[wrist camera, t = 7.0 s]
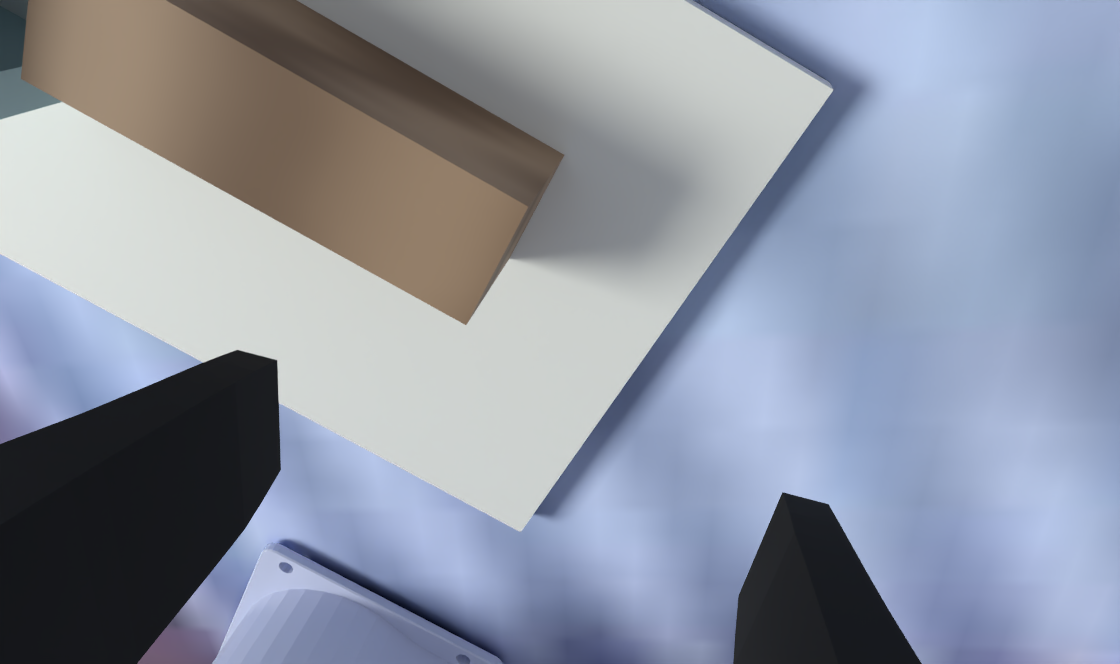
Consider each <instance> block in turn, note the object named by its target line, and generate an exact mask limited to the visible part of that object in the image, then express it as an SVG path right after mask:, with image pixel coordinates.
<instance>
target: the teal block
mask: <svg viewBox="0 0 1120 664" xmlns="http://www.w3.org/2000/svg"><path fill="white" fill-rule="evenodd" d="M25 29H26V20H25V19H23V18H21V17H19V16H18V15H16V14H14V13H12V12H10V11H9V10H7V9H5V8H3V7H2V6H0V120H1V119H4V118H8V117H11V116H15V115H18V114H22V113H25V112H29V111H32V110H36V109H39V108H43V107H46V106H50V105H53V104H57V103H60V102H62V101H60V100H58V99H56V98H54V97H53V96H51V95H49V94H47V93H45V92H44V91H42V90H40V89H38V88H36V87H35V86H33V85H31V84H29V83H27V82H26V81H24V80H22V79H21V71H22V60H23V50H24V39H25Z"/></svg>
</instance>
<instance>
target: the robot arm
mask: <svg viewBox="0 0 1120 664" xmlns="http://www.w3.org/2000/svg"><path fill="white" fill-rule="evenodd" d="M280 470H281V464H280V431H279V399H278V366H277V360H275V359H271V358H267V357H263V356H259V355H256V354H252V353H248V352H244V351H240V350H236V351H233V352H230V353H227V354H224V355H222V356H219V357H216V358H214V359H211V360H209V361H206V362H204V363H201V364H199V365H197V366H194V367H192V368H189V369H187V370H185V371H182V372H180V373H178V374H175V375H173V376H170V377H168V378H166V379H163V380H161V381H159V382H156V383H154V384H152V385H149V386H147V387H144V388H142V389H140V390H137V391H135V392H132V393H130V394H128V395H125V396H123V397H120V398H118V399H116V400H113V401H111V402H108V403H106V404H104V405H101V406H99V407H96V408H94V409H92V410H89V411H87V412H84V413H82V414H79V415H76V416H74V417H71V418H68V419H66V420H63V421H61V422H58V423H55V424H53V425H50V426H47V427H45V428H42V429H39V430H37V431H34V432H31V433H29V434H26V435H23V436H21V437H18V438H15V439H13V440H10V441H7V442H5V443H2V444H0V664H137V663H138V661H139V660H140V659H141V658H142V656H143V655H144V654H145V653H146V652H147V650H148V649H149V648H150V647H151V645H152V644H153V643H154V642H155V640H156V639H157V638H158V637H159V635H160V634H161V633H162V632H163V631H164V629H165V628H166V627H167V626H168V624H169V623H170V622H171V621H172V619H173V618H174V617H175V616H176V614H177V613H178V612H179V611H180V609H181V608H182V607H183V606H184V605H185V603H186V602H187V601H188V600H189V598H190V597H191V596H192V595H193V593H194V592H195V591H196V590H197V588H198V587H199V586H200V585H201V584H202V582H203V581H204V580H205V579H206V577H207V576H208V575H209V574H210V572H211V571H212V570H213V569H214V567H215V566H216V565H217V564H218V562H219V561H220V560H221V559H222V557H223V556H224V555H225V554H226V552H227V551H228V550H229V548H230V547H231V546H232V545H233V543H234V542H235V541H236V540H237V538H238V537H239V536H240V534H241V533H242V532H243V531H244V529H245V528H246V526H247V525H248V523H249V521H250V520H251V518H252V517H253V515H254V513H255V512H256V510H257V509H258V507H259V506H260V504H261V502H262V501H263V499H264V497H265V496H266V494H267V492H268V490H269V489H270V487H271V485H272V484H273V482H274V480H275V479H276V477H277V475H278V473H279V472H280ZM212 664H503V662H502V661H501V660H500V659H499V658H498V657H496V656H494V655H492V654H490V653H489V652H487V651H485V650H483V649H481V648H479V647H477V646H475V645H473V644H471V643H469V642H467V641H466V640H464V639H462V638H460V637H458V636H456V635H454V634H452V633H450V632H448V631H446V630H444V629H442V628H441V627H439V626H437V625H435V624H433V623H431V622H429V621H427V620H425V619H423V618H421V617H419V616H417V615H416V614H414V613H412V612H410V611H408V610H406V609H404V608H402V607H400V606H398V605H396V604H394V603H392V602H391V601H389V600H387V599H385V598H383V597H381V596H379V595H377V594H375V593H373V592H371V591H369V590H368V589H366V588H364V587H362V586H360V585H358V584H356V583H354V582H352V581H350V580H348V579H346V578H344V577H343V576H341V575H339V574H337V573H335V572H333V571H331V570H329V569H327V568H325V567H323V566H321V565H319V564H318V563H316V562H314V561H312V560H310V559H308V558H306V557H304V556H302V555H300V554H298V553H296V552H294V551H293V550H291V549H289V548H287V547H285V546H283V545H280V544H278V543H271V544H268V545H267V546H266V547H265V549H264V550H263V551H262V553H261V554H260V557H259V559H258V561H257V564H256V566H255V568H254V571H253V573H252V576H251V578H250V580H249V583H248V585H247V587H246V590H245V592H244V594H243V597H242V599H241V601H240V604H239V606H238V608H237V611H236V613H235V616H234V618H233V620H232V623H231V625H230V627H229V630H228V632H227V634H226V637H225V639H224V641H223V644H222V646H221V649H220V651H219V653H218V656H217V657H216V659H215V660H214V661H213V663H212ZM733 664H922V663H921V662H920V660H919V659H918V657H917V656H916V654H915V652H914V651H913V649H912V648H911V646H910V644H909V643H908V641H907V639H906V638H905V636H904V634H903V633H902V631H901V630H900V628H899V626H898V625H897V623H896V621H895V620H894V618H893V617H892V615H891V613H890V612H889V610H888V608H887V606H886V605H885V603H884V601H883V600H882V598H881V596H880V595H879V593H878V591H877V589H876V588H875V586H874V584H873V582H872V581H871V579H870V577H869V575H868V574H867V572H866V570H865V568H864V567H863V565H862V563H861V561H860V559H859V558H858V556H857V554H856V552H855V550H854V549H853V547H852V545H851V543H850V542H849V540H848V538H847V536H846V534H845V533H844V531H843V529H842V527H841V525H840V524H839V522H838V520H837V519H836V517H835V515H834V513H833V512H832V510H831V508H830V506H829V505H828V504H825V503H821V502H817V501H813V500H810V499H806V498H802V497H798V496H794V495H790V494H787V493H782V495H781V497H780V500H779V502H778V504H777V507H776V509H775V511H774V514H773V516H772V519H771V521H770V523H769V526H768V528H767V530H766V533H765V535H764V537H763V540H762V542H761V544H760V547H759V549H758V551H757V554H756V556H755V559H754V561H753V563H752V566H751V568H750V570H749V573H748V575H747V577H746V580H745V582H744V584H743V587H742V589H741V592H740V594H739V598H738V610H737V622H736V633H735V648H734V663H733Z"/></svg>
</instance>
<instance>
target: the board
mask: <svg viewBox="0 0 1120 664" xmlns="http://www.w3.org/2000/svg"><path fill="white" fill-rule="evenodd" d="M297 1H299V2H300V3H302V4H304V5H306V6H307V7H309V8H311V9H312V10H314V11H316V12H318V13H319V14H321V15H323V16H325V17H326V18H328V19H330V20H332V21H333V22H335V23H337V24H338V25H340V26H342V27H344V28H345V29H347V30H349V31H351V32H352V33H354V34H356V35H358V36H359V37H361V38H363V39H364V40H366V41H368V42H370V43H371V44H373V45H375V46H377V47H378V48H380V49H382V50H384V51H385V52H387V53H389V54H390V55H392V56H394V57H396V58H397V59H399V60H401V61H403V62H404V63H406V64H408V65H410V66H411V67H413V68H415V69H416V70H418V71H420V72H422V73H423V74H425V75H427V76H429V77H430V78H432V79H434V80H436V81H437V82H439V83H441V84H442V85H444V86H446V87H448V88H449V89H451V90H453V91H455V92H456V93H458V94H460V95H461V96H463V97H465V98H467V99H468V100H470V101H472V102H474V103H475V104H477V105H479V106H481V107H482V108H484V109H486V110H487V111H489V112H491V113H493V114H494V115H496V116H498V117H500V118H501V119H503V120H505V121H507V122H508V123H510V124H512V125H513V126H515V127H517V128H519V129H520V130H522V131H524V132H526V133H527V134H529V135H531V136H533V137H534V138H536V139H538V140H539V141H541V142H543V143H545V144H546V145H548V146H550V147H552V148H553V149H555V150H557V151H559V152H560V153H562V154H564V157H563V159H562V161H561V162H560V164H559V166H558V168H557V170H556V172H555V174H554V176H553V178H552V179H551V181H550V183H549V185H548V187H547V189H546V191H545V193H544V194H543V196H542V198H541V200H540V202H539V204H538V206H537V208H536V210H535V211H534V213H533V215H532V217H531V219H530V221H529V223H528V225H527V226H526V228H525V230H524V232H523V234H522V236H521V238H520V240H519V242H518V243H517V245H516V247H515V249H514V251H513V253H512V255H511V257H510V258H509V260H508V262H507V263H506V265H505V266H504V268H503V269H502V271H501V272H500V274H499V275H498V277H497V279H496V280H495V282H494V283H493V285H492V286H491V288H490V289H489V291H488V292H487V294H486V296H485V297H484V299H483V300H482V302H481V303H480V305H479V306H478V308H477V309H476V311H475V313H474V314H473V316H472V317H471V319H470V320H469V322H468V323H467V325H465V324H463V323H461V322H459V321H457V320H456V319H454V318H452V317H450V316H448V315H447V314H445V313H443V312H441V311H439V310H437V309H436V308H434V307H432V306H430V305H428V304H427V303H425V302H423V301H421V300H419V299H418V298H416V297H414V296H412V295H410V294H409V293H407V292H405V291H403V290H401V289H400V288H398V287H396V286H394V285H392V284H390V283H389V282H387V281H385V280H383V279H381V278H380V277H378V276H376V275H374V274H372V273H371V272H369V271H367V270H365V269H363V268H362V267H360V266H358V265H356V264H354V263H353V262H351V261H349V260H347V259H345V258H344V257H342V256H340V255H338V254H336V253H334V252H333V251H331V250H329V249H327V248H325V247H324V246H322V245H320V244H318V243H316V242H315V241H313V240H311V239H309V238H307V237H306V236H304V235H302V234H300V233H298V232H297V231H295V230H293V229H291V228H289V227H288V226H286V225H284V224H282V223H280V222H278V221H277V220H275V219H273V218H271V217H269V216H268V215H266V214H264V213H262V212H260V211H259V210H257V209H255V208H253V207H251V206H250V205H248V204H246V203H244V202H242V201H241V200H239V199H237V198H235V197H233V196H232V195H230V194H228V193H226V192H224V191H222V190H221V189H219V188H217V187H215V186H213V185H212V184H210V183H208V182H206V181H204V180H203V179H201V178H199V177H197V176H195V175H194V174H192V173H190V172H188V171H186V170H185V169H183V168H181V167H179V166H177V165H176V164H174V163H172V162H170V161H168V160H166V159H165V158H163V157H161V156H159V155H157V154H156V153H154V152H152V151H150V150H148V149H147V148H145V147H143V146H141V145H139V144H138V143H136V142H134V141H132V140H130V139H129V138H127V137H125V136H123V135H121V134H119V133H118V132H116V131H114V130H112V129H110V128H109V127H107V126H105V125H103V124H101V123H100V122H98V121H96V120H94V119H92V118H91V117H89V116H87V115H85V114H83V113H82V112H80V111H78V110H76V109H74V108H73V107H71V106H69V105H67V104H65V103H63V102H60V103H57V104H53V105H50V106H46V107H43V108H39V109H36V110H32V111H29V112H25V113H22V114H18V115H15V116H11V117H8V118H4V119H1V120H0V254H1V255H3V256H5V257H7V258H9V259H11V260H13V261H14V262H16V263H18V264H20V265H22V266H24V267H26V268H28V269H29V270H31V271H33V272H35V273H37V274H39V275H41V276H43V277H44V278H46V279H48V280H50V281H52V282H54V283H56V284H57V285H59V286H61V287H63V288H65V289H67V290H69V291H71V292H72V293H74V294H76V295H78V296H80V297H82V298H84V299H86V300H87V301H89V302H91V303H93V304H95V305H97V306H99V307H100V308H102V309H104V310H106V311H108V312H110V313H112V314H114V315H115V316H117V317H119V318H121V319H123V320H125V321H127V322H129V323H130V324H132V325H134V326H136V327H138V328H140V329H142V330H143V331H145V332H147V333H149V334H151V335H153V336H155V337H157V338H158V339H160V340H162V341H164V342H166V343H168V344H170V345H172V346H173V347H175V348H177V349H179V350H181V351H183V352H185V353H186V354H188V355H190V356H192V357H194V358H196V359H198V360H200V361H201V362H203V363H204V362H206V361H209V360H211V359H214V358H216V357H219V356H222V355H224V354H227V353H230V352H233V351H236V350H240V351H244V352H248V353H252V354H256V355H259V356H263V357H267V358H271V359H275V360H277V366H278V399H279V403H280V404H282V405H284V406H286V407H287V408H289V409H291V410H293V411H295V412H297V413H299V414H301V415H302V416H304V417H306V418H308V419H310V420H312V421H314V422H316V423H317V424H319V425H321V426H323V427H325V428H327V429H329V430H330V431H332V432H334V433H336V434H338V435H340V436H342V437H344V438H345V439H347V440H349V441H351V442H353V443H355V444H357V445H359V446H360V447H362V448H364V449H366V450H368V451H370V452H372V453H374V454H375V455H377V456H379V457H381V458H383V459H385V460H387V461H388V462H390V463H392V464H394V465H396V466H398V467H400V468H402V469H403V470H405V471H407V472H409V473H411V474H413V475H415V476H417V477H418V478H420V479H422V480H424V481H426V482H428V483H430V484H431V485H433V486H435V487H437V488H439V489H441V490H443V491H445V492H446V493H448V494H450V495H452V496H454V497H456V498H458V499H460V500H461V501H463V502H465V503H467V504H469V505H471V506H473V507H474V508H476V509H478V510H480V511H482V512H484V513H486V514H488V515H489V516H491V517H493V518H495V519H497V520H499V521H501V522H503V523H504V524H506V525H508V526H510V527H512V528H514V529H516V530H517V531H519V532H521V531H522V530H523V528H524V527H525V525H526V524H527V522H528V521H529V520H530V518H531V517H532V515H533V514H534V513H535V511H536V510H537V508H538V507H539V506H540V504H541V503H542V501H543V500H544V498H545V497H546V496H547V494H548V493H549V491H550V490H551V489H552V487H553V486H554V484H555V483H556V481H557V480H558V479H559V477H560V476H561V474H562V473H563V472H564V470H565V469H566V467H567V466H568V465H569V463H570V462H571V460H572V459H573V457H574V456H575V455H576V453H577V452H578V450H579V449H580V448H581V446H582V445H583V443H584V442H585V441H586V439H587V438H588V436H589V435H590V433H591V432H592V431H593V429H594V428H595V426H596V425H597V424H598V422H599V421H600V419H601V418H602V416H603V415H604V414H605V412H606V411H607V409H608V408H609V407H610V405H611V404H612V402H613V401H614V400H615V398H616V397H617V395H618V394H619V392H620V391H621V390H622V388H623V387H624V385H625V384H626V383H627V381H628V380H629V378H630V377H631V375H632V374H633V373H634V371H635V370H636V368H637V367H638V366H639V364H640V363H641V361H642V360H643V359H644V357H645V356H646V354H647V353H648V351H649V350H650V349H651V347H652V346H653V344H654V343H655V342H656V340H657V339H658V337H659V336H660V334H661V333H662V332H663V330H664V329H665V327H666V326H667V325H668V323H669V322H670V320H671V319H672V318H673V316H674V315H675V313H676V312H677V310H678V309H679V308H680V306H681V305H682V303H683V302H684V301H685V299H686V298H687V296H688V295H689V294H690V292H691V291H692V289H693V288H694V286H695V285H696V284H697V282H698V281H699V279H700V278H701V277H702V275H703V274H704V272H705V271H706V269H707V268H708V267H709V265H710V264H711V262H712V261H713V260H714V258H715V257H716V255H717V254H718V253H719V251H720V250H721V248H722V247H723V245H724V244H725V243H726V241H727V240H728V238H729V237H730V236H731V234H732V233H733V231H734V230H735V228H736V227H737V226H738V224H739V223H740V221H741V220H742V219H743V217H744V216H745V214H746V213H747V212H748V210H749V209H750V207H751V206H752V204H753V203H754V202H755V200H756V199H757V197H758V196H759V195H760V193H761V192H762V190H763V189H764V187H765V186H766V185H767V183H768V182H769V180H770V179H771V178H772V176H773V175H774V173H775V172H776V171H777V169H778V168H779V166H780V165H781V163H782V162H783V161H784V159H785V158H786V156H787V155H788V154H789V152H790V151H791V149H792V148H793V147H794V145H795V144H796V142H797V141H798V139H799V138H800V137H801V135H802V134H803V132H804V131H805V130H806V128H807V127H808V125H809V124H810V122H811V121H812V120H813V118H814V117H815V115H816V114H817V113H818V111H819V110H820V108H821V107H822V106H823V104H824V103H825V101H826V100H827V98H828V97H829V96H830V94H831V93H832V91H833V88H832V86H831V84H830V83H829V82H828V81H826V80H825V79H823V78H821V77H820V76H818V75H816V74H815V73H813V72H811V71H810V70H808V69H806V68H805V67H803V66H801V65H800V64H798V63H797V62H795V61H793V60H792V59H790V58H788V57H787V56H785V55H783V54H782V53H780V52H778V51H777V50H775V49H773V48H772V47H770V46H768V45H767V44H765V43H763V42H762V41H760V40H758V39H757V38H755V37H753V36H752V35H750V34H748V33H747V32H745V31H743V30H742V29H740V28H738V27H737V26H735V25H733V24H732V23H730V22H728V21H727V20H725V19H723V18H722V17H720V16H718V15H717V14H715V13H713V12H712V11H710V10H708V9H707V8H705V7H703V6H702V5H700V4H698V3H697V2H695V1H693V0H297ZM0 6H2V7H3V8H5V9H7V10H9V11H10V12H12V13H14V14H16V15H18V16H19V17H21V18H23V19H25V20H26V18H27V8H28V0H0Z"/></svg>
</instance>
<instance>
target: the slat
mask: <svg viewBox="0 0 1120 664" xmlns="http://www.w3.org/2000/svg"><path fill="white" fill-rule="evenodd" d="M21 79H22V80H24V81H26V82H27V83H29V84H31V85H33V86H35V87H36V88H38V89H40V90H42V91H44V92H45V93H47V94H49V95H51V96H53V97H54V98H56V99H58V100H60V101H62V102H63V103H65V104H67V105H69V106H71V107H73V108H74V109H76V110H78V111H80V112H82V113H83V114H85V115H87V116H89V117H91V118H92V119H94V120H96V121H98V122H100V123H101V124H103V125H105V126H107V127H109V128H110V129H112V130H114V131H116V132H118V133H119V134H121V135H123V136H125V137H127V138H129V139H130V140H132V141H134V142H136V143H138V144H139V145H141V146H143V147H145V148H147V149H148V150H150V151H152V152H154V153H156V154H157V155H159V156H161V157H163V158H165V159H166V160H168V161H170V162H172V163H174V164H176V165H177V166H179V167H181V168H183V169H185V170H186V171H188V172H190V173H192V174H194V175H195V176H197V177H199V178H201V179H203V180H204V181H206V182H208V183H210V184H212V185H213V186H215V187H217V188H219V189H221V190H222V191H224V192H226V193H228V194H230V195H232V196H233V197H235V198H237V199H239V200H241V201H242V202H244V203H246V204H248V205H250V206H251V207H253V208H255V209H257V210H259V211H260V212H262V213H264V214H266V215H268V216H269V217H271V218H273V219H275V220H277V221H278V222H280V223H282V224H284V225H286V226H288V227H289V228H291V229H293V230H295V231H297V232H298V233H300V234H302V235H304V236H306V237H307V238H309V239H311V240H313V241H315V242H316V243H318V244H320V245H322V246H324V247H325V248H327V249H329V250H331V251H333V252H334V253H336V254H338V255H340V256H342V257H344V258H345V259H347V260H349V261H351V262H353V263H354V264H356V265H358V266H360V267H362V268H363V269H365V270H367V271H369V272H371V273H372V274H374V275H376V276H378V277H380V278H381V279H383V280H385V281H387V282H389V283H390V284H392V285H394V286H396V287H398V288H400V289H401V290H403V291H405V292H407V293H409V294H410V295H412V296H414V297H416V298H418V299H419V300H421V301H423V302H425V303H427V304H428V305H430V306H432V307H434V308H436V309H437V310H439V311H441V312H443V313H445V314H447V315H448V316H450V317H452V318H454V319H456V320H457V321H459V322H461V323H463V324H465V325H467V323H468V322H469V320H470V319H471V317H472V316H473V314H474V313H475V311H476V309H477V308H478V306H479V305H480V303H481V302H482V300H483V299H484V297H485V296H486V294H487V292H488V291H489V289H490V288H491V286H492V285H493V283H494V282H495V280H496V279H497V277H498V275H499V274H500V272H501V271H502V269H503V268H504V266H505V265H506V263H507V262H508V260H509V258H510V257H511V255H512V253H513V251H514V249H515V247H516V245H517V243H518V242H519V240H520V238H521V236H522V234H523V232H524V230H525V228H526V226H527V225H528V223H529V221H530V219H531V217H532V215H533V213H534V211H535V210H536V208H537V206H538V204H539V202H540V200H541V198H542V196H543V194H544V193H545V191H546V189H547V187H548V185H549V183H550V181H551V179H552V178H553V176H554V174H555V172H556V170H557V168H558V166H559V164H560V162H561V161H562V159H563V157H564V154H562V153H560V152H559V151H557V150H555V149H553V148H552V147H550V146H548V145H546V144H545V143H543V142H541V141H539V140H538V139H536V138H534V137H533V136H531V135H529V134H527V133H526V132H524V131H522V130H520V129H519V128H517V127H515V126H513V125H512V124H510V123H508V122H507V121H505V120H503V119H501V118H500V117H498V116H496V115H494V114H493V113H491V112H489V111H487V110H486V109H484V108H482V107H481V106H479V105H477V104H475V103H474V102H472V101H470V100H468V99H467V98H465V97H463V96H461V95H460V94H458V93H456V92H455V91H453V90H451V89H449V88H448V87H446V86H444V85H442V84H441V83H439V82H437V81H436V80H434V79H432V78H430V77H429V76H427V75H425V74H423V73H422V72H420V71H418V70H416V69H415V68H413V67H411V66H410V65H408V64H406V63H404V62H403V61H401V60H399V59H397V58H396V57H394V56H392V55H390V54H389V53H387V52H385V51H384V50H382V49H380V48H378V47H377V46H375V45H373V44H371V43H370V42H368V41H366V40H364V39H363V38H361V37H359V36H358V35H356V34H354V33H352V32H351V31H349V30H347V29H345V28H344V27H342V26H340V25H338V24H337V23H335V22H333V21H332V20H330V19H328V18H326V17H325V16H323V15H321V14H319V13H318V12H316V11H314V10H312V9H311V8H309V7H307V6H306V5H304V4H302V3H300V2H299V1H297V0H28V8H27V18H26V29H25V39H24V50H23V60H22V71H21Z"/></svg>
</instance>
